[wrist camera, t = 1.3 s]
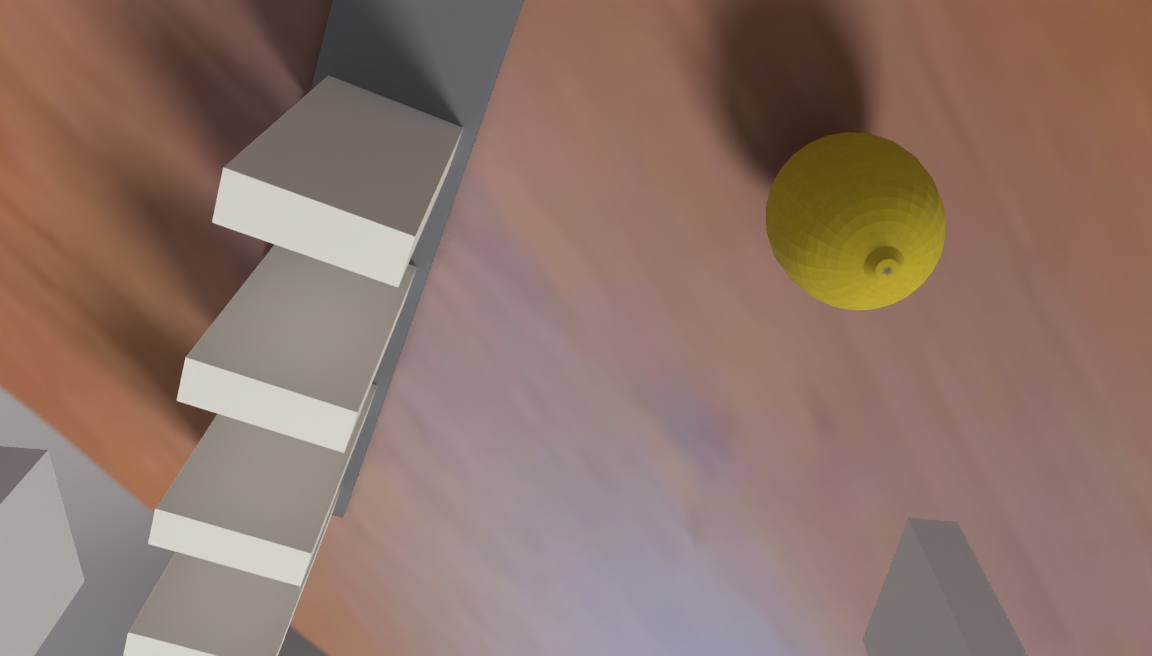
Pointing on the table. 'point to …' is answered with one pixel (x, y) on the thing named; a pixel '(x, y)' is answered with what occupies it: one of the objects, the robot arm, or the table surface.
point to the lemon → (855, 221)
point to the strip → (429, 84)
